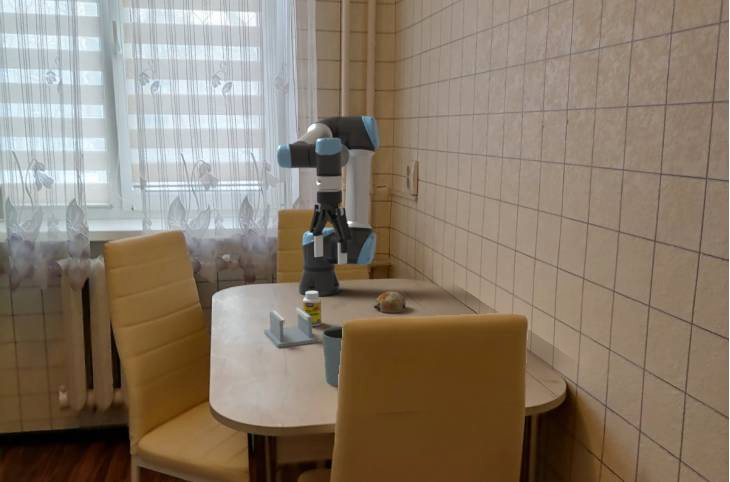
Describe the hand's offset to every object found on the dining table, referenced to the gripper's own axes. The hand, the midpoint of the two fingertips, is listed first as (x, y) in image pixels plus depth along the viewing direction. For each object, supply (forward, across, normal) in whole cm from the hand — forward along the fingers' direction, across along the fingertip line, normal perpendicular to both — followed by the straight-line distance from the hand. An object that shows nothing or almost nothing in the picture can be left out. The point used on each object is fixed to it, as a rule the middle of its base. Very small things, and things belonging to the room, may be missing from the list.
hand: (330, 260), depth 201 cm
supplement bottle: (+20, -3, -5) cm, 21 cm away
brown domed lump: (+20, -2, +24) cm, 32 cm away
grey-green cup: (+20, +40, -22) cm, 50 cm away
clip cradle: (+20, +5, -17) cm, 26 cm away
